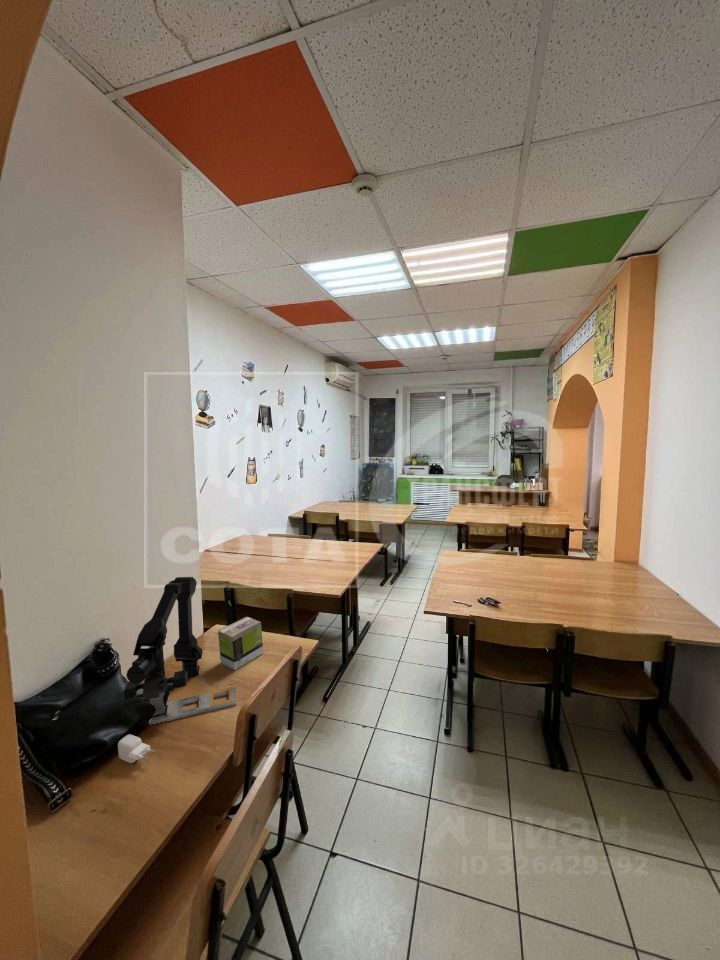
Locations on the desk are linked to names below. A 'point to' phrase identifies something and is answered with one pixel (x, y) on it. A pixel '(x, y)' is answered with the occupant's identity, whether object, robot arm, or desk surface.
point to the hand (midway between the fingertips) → (158, 707)
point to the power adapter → (132, 748)
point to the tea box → (240, 642)
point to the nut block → (159, 705)
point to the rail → (204, 706)
